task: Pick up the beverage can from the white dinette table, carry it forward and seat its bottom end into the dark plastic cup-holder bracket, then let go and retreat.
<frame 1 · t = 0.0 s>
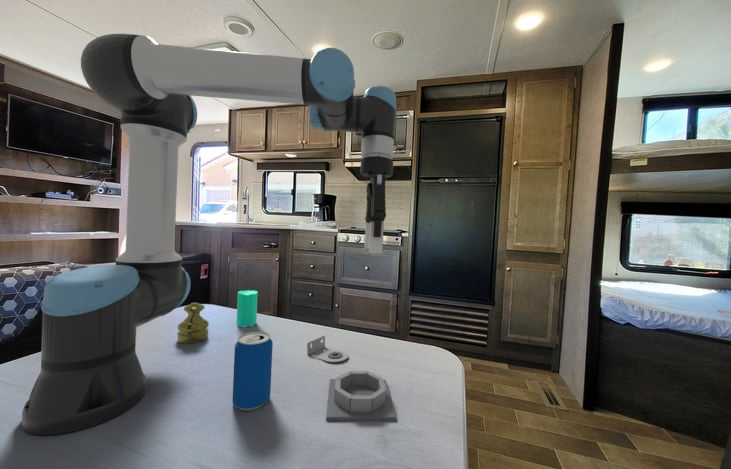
hand: (372, 250, 65), 28 cm above the table, fingers open, 13 cm apart
cup holder: (359, 399, 54), on the table
yellow knotted piece: (193, 339, 78), on the table
candle: (246, 324, 91), on the table
beverage can: (251, 402, 52), on the table
bracket: (328, 356, 72), on the table
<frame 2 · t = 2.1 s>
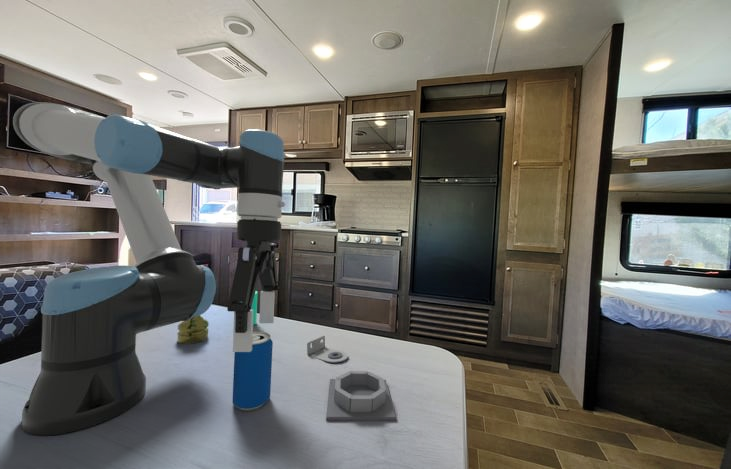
hand: (256, 335, 51), 12 cm above the table, fingers open, 13 cm apart
nothing on the table moved.
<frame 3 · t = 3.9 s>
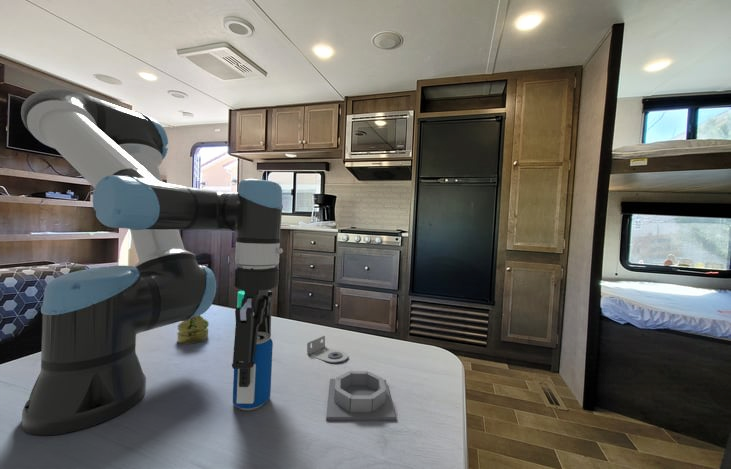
hand: (252, 389, 52), 2 cm above the table, fingers closed on beverage can, 6 cm apart
beverage can: (251, 402, 52), on the table, touching gripper
everything else where it was.
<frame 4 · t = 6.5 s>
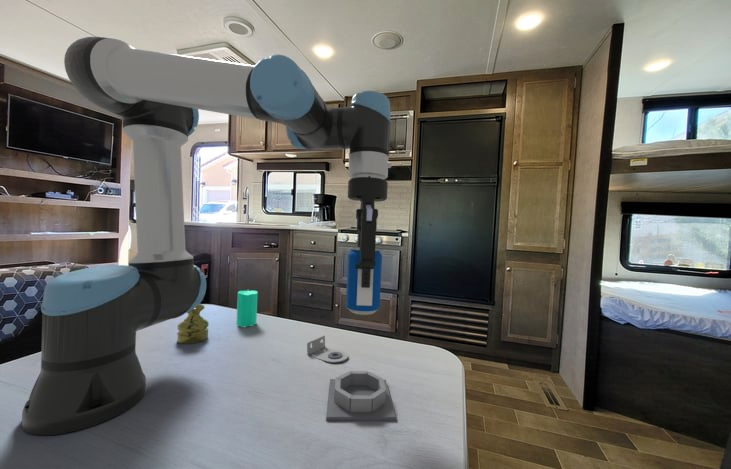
hand: (363, 299, 53), 19 cm above the table, fingers closed on beverage can, 6 cm apart
beverage can: (362, 311, 54), point 17 cm above the table, touching gripper
everything else where it was.
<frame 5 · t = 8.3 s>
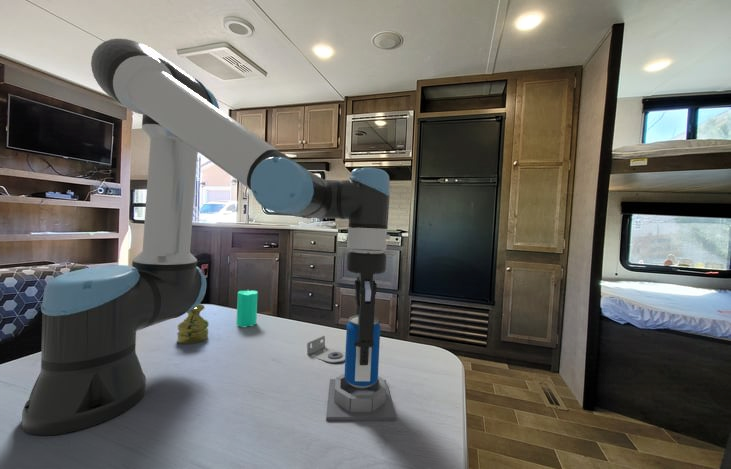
hand: (361, 370, 54), 6 cm above the table, fingers closed on beverage can, 6 cm apart
beverage can: (360, 381, 54), point 3 cm above the table, touching gripper
everything else where it was.
when the fingers open (4 cm above the table, at t = 9.3 s): beverage can drops 2 cm, resting on cup holder.
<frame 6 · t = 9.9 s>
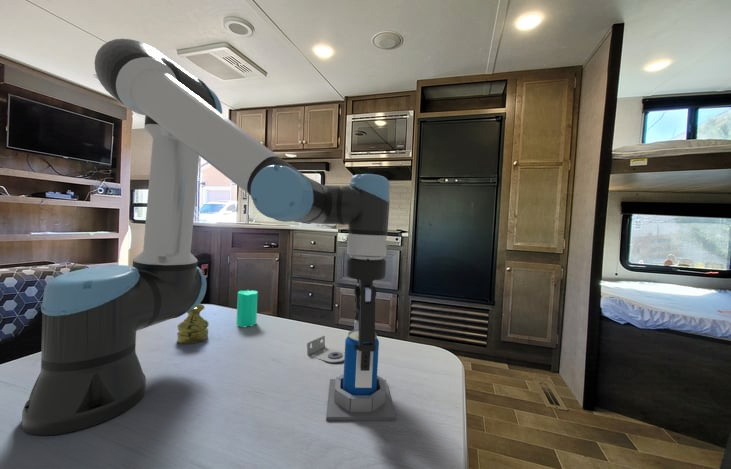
hand: (361, 366, 54), 6 cm above the table, fingers open, 13 cm apart
beverage can: (359, 396, 54), resting on cup holder
everything else where it was.
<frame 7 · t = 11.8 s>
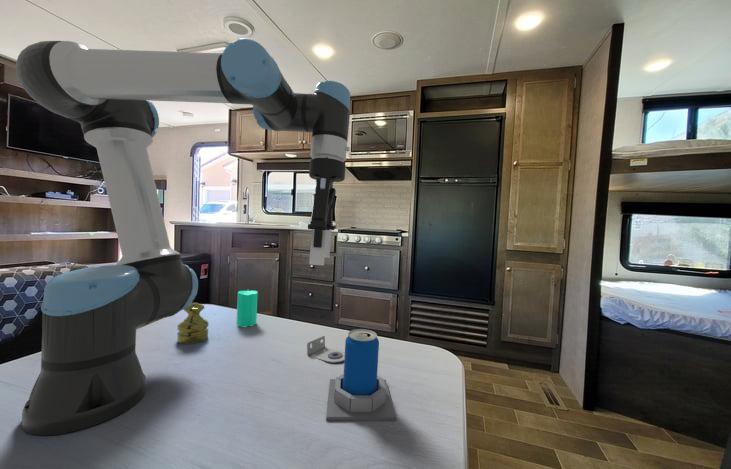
hand: (320, 260, 60), 26 cm above the table, fingers open, 13 cm apart
nothing on the table moved.
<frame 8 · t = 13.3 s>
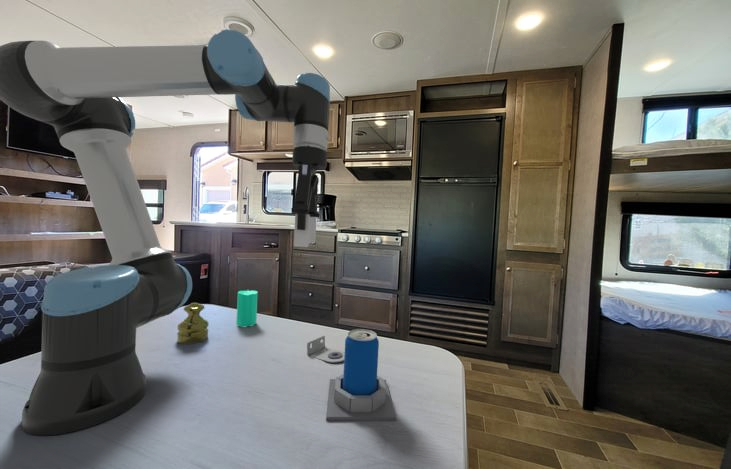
hand: (305, 244, 63), 29 cm above the table, fingers open, 13 cm apart
nothing on the table moved.
at the end: beverage can 0.1 cm from the cup holder (horizontally); beverage can tilted 0°; the gripper is holding nothing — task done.
